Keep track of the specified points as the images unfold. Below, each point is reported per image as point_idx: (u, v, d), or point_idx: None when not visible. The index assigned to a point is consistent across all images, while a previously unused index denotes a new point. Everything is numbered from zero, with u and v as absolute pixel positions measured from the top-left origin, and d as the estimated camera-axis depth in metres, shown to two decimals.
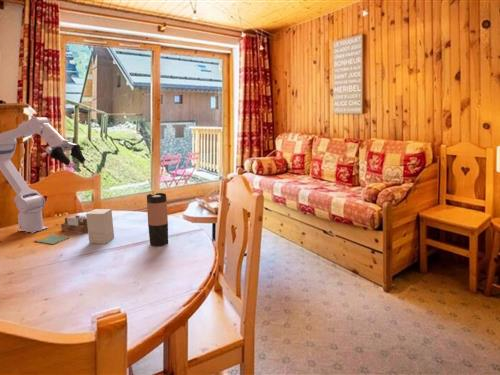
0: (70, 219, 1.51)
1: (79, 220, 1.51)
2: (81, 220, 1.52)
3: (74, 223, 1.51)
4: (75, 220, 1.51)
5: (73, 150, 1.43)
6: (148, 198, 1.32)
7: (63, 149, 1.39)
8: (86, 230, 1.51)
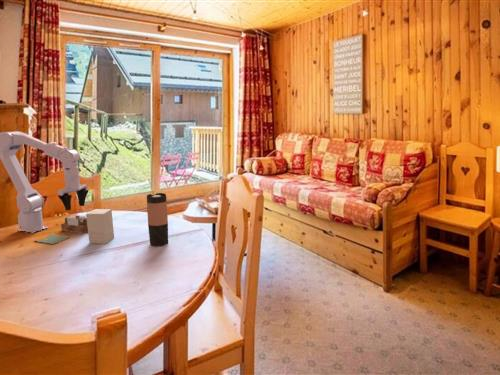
0: (70, 219, 1.51)
1: (79, 220, 1.51)
2: (81, 220, 1.52)
3: (74, 223, 1.51)
4: (75, 220, 1.51)
5: (80, 192, 1.54)
6: (148, 198, 1.32)
7: None
8: (86, 230, 1.51)
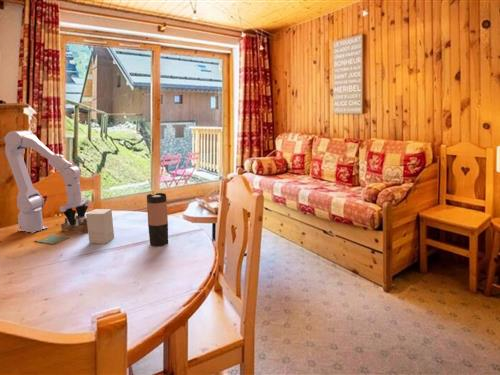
0: None
1: (79, 220, 1.51)
2: (81, 220, 1.52)
3: None
4: (75, 220, 1.51)
5: (80, 208, 1.55)
6: (148, 198, 1.32)
7: (74, 207, 1.51)
8: (86, 230, 1.51)
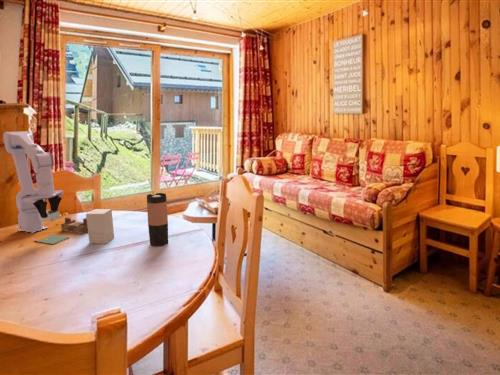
0: None
1: (52, 215, 1.38)
2: (54, 215, 1.39)
3: (46, 218, 1.38)
4: (47, 215, 1.37)
5: (52, 199, 1.41)
6: (148, 198, 1.32)
7: (46, 198, 1.38)
8: (86, 230, 1.51)
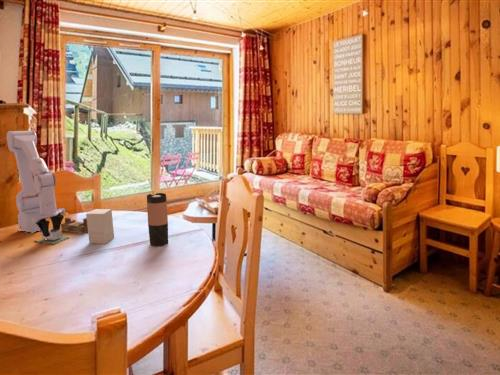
0: None
1: (54, 234, 1.40)
2: (56, 234, 1.41)
3: (49, 237, 1.40)
4: (50, 234, 1.39)
5: (55, 218, 1.43)
6: (148, 198, 1.32)
7: (48, 217, 1.40)
8: (86, 230, 1.51)
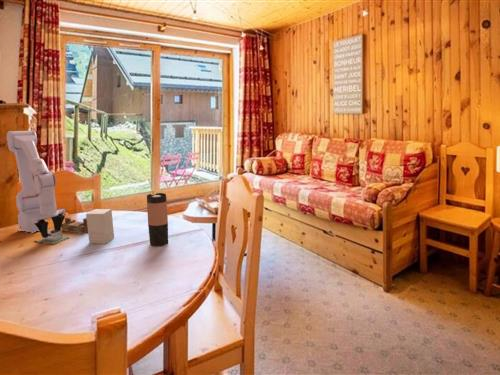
0: None
1: (54, 235, 1.40)
2: (56, 235, 1.41)
3: (49, 238, 1.40)
4: (50, 235, 1.39)
5: (56, 218, 1.43)
6: (148, 198, 1.32)
7: None
8: (86, 230, 1.51)
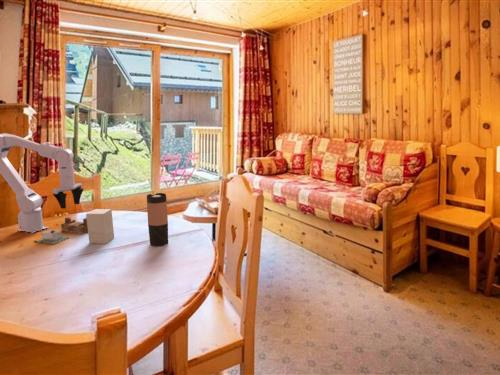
0: (44, 234, 1.40)
1: (54, 235, 1.40)
2: (56, 235, 1.41)
3: (49, 238, 1.40)
4: (50, 235, 1.39)
5: (75, 190, 1.57)
6: (148, 198, 1.32)
7: (67, 190, 1.53)
8: (86, 230, 1.51)
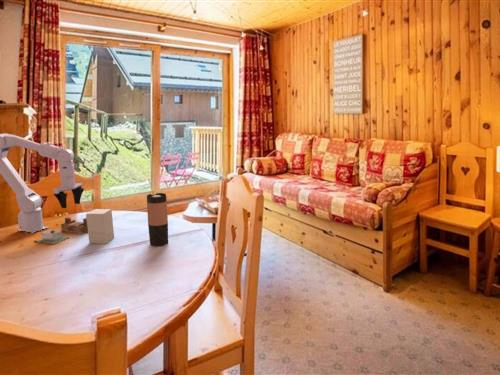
0: (44, 234, 1.40)
1: (54, 235, 1.40)
2: (56, 235, 1.41)
3: (49, 238, 1.40)
4: (50, 235, 1.39)
5: (76, 190, 1.57)
6: (148, 198, 1.32)
7: (68, 190, 1.53)
8: (86, 230, 1.51)
